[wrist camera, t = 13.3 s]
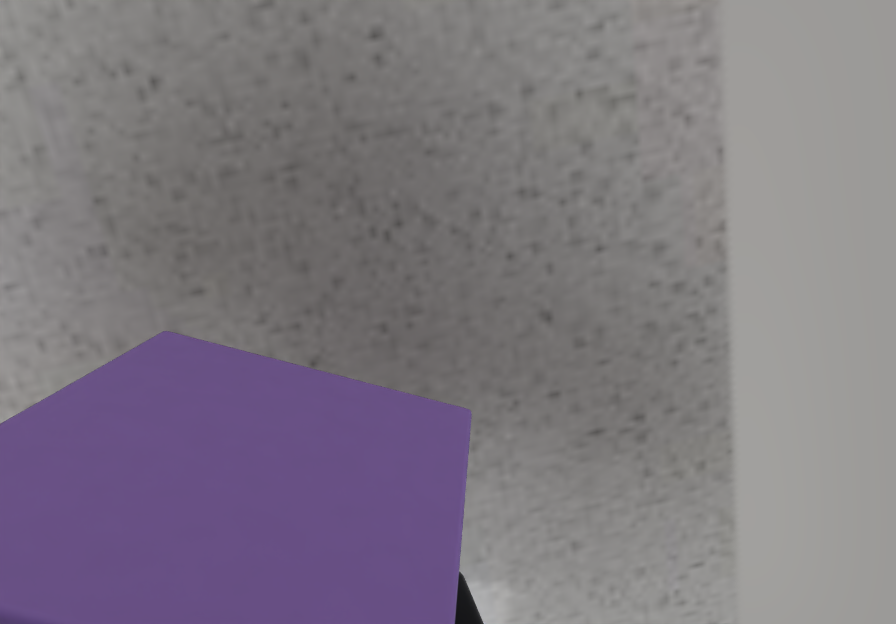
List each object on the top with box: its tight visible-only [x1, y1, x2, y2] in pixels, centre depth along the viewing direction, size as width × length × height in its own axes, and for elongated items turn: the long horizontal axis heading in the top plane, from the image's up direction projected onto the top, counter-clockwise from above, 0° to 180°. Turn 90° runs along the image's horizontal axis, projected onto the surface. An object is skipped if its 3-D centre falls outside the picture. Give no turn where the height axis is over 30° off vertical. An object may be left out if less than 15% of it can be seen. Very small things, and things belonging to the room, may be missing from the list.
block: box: [0, 331, 472, 624], centre depth 6 cm, size 4×4×4 cm
